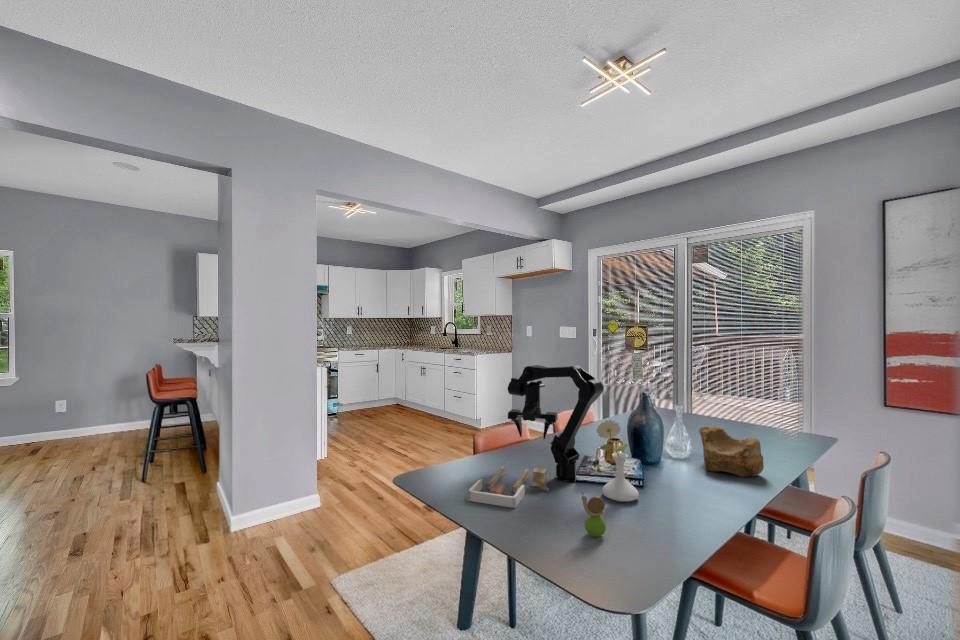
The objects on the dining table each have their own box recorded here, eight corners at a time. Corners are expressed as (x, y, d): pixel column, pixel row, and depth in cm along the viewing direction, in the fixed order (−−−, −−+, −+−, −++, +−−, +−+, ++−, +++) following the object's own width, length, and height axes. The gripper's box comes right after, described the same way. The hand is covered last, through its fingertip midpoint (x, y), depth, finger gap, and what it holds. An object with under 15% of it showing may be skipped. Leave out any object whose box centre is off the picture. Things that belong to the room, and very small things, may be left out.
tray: (524, 494, 138) (524, 485, 138) (515, 508, 128) (515, 498, 128) (479, 487, 144) (479, 479, 144) (467, 500, 133) (467, 491, 133)
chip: (501, 497, 136) (501, 488, 136) (498, 501, 133) (498, 491, 133) (493, 496, 137) (492, 487, 137) (490, 499, 134) (489, 490, 134)
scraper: (551, 486, 144) (550, 469, 144) (548, 492, 140) (548, 474, 140) (531, 484, 147) (531, 467, 147) (528, 489, 142) (527, 471, 142)
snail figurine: (578, 531, 113) (578, 487, 113) (601, 530, 114) (601, 486, 114) (585, 541, 108) (585, 495, 108) (609, 540, 108) (608, 494, 108)
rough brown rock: (682, 467, 166) (680, 430, 165) (707, 457, 173) (706, 422, 173) (742, 489, 145) (741, 447, 144) (767, 476, 153) (766, 437, 152)
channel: (529, 474, 156) (529, 469, 156) (516, 493, 139) (516, 487, 139) (502, 471, 159) (502, 466, 159) (487, 488, 143) (487, 483, 143)
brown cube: (504, 494, 139) (504, 484, 139) (501, 497, 136) (501, 488, 136) (495, 492, 140) (495, 483, 140) (492, 496, 137) (492, 487, 137)
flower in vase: (638, 493, 138) (637, 417, 139) (639, 507, 128) (638, 425, 128) (597, 488, 143) (597, 415, 143) (595, 501, 132) (595, 422, 132)
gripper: (503, 399, 157) (503, 441, 157) (553, 403, 151) (553, 446, 151) (511, 395, 168) (511, 433, 168) (557, 397, 162) (557, 437, 162)
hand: (532, 437), depth 162 cm, fingers open, 9 cm apart
